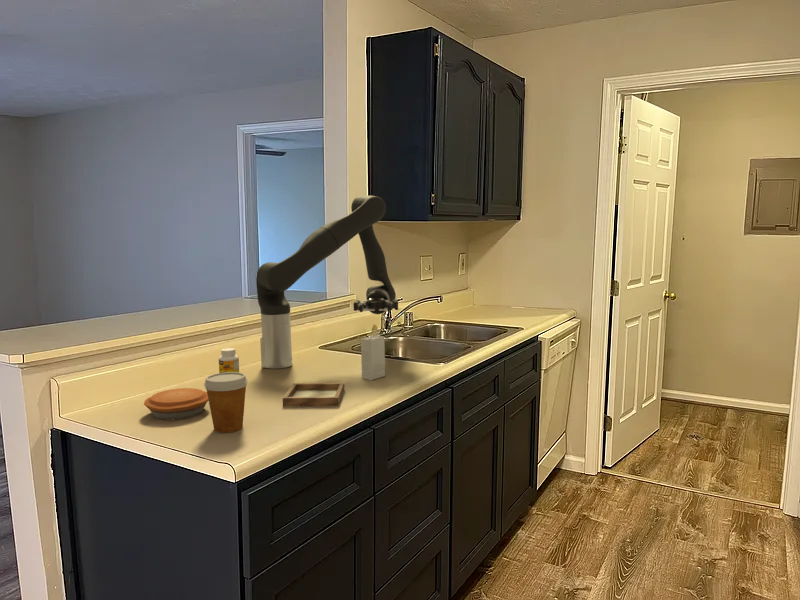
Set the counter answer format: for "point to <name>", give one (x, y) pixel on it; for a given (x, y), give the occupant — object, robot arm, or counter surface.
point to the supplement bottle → (228, 361)
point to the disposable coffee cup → (226, 400)
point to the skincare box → (373, 357)
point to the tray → (313, 394)
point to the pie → (177, 403)
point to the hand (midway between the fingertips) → (374, 308)
